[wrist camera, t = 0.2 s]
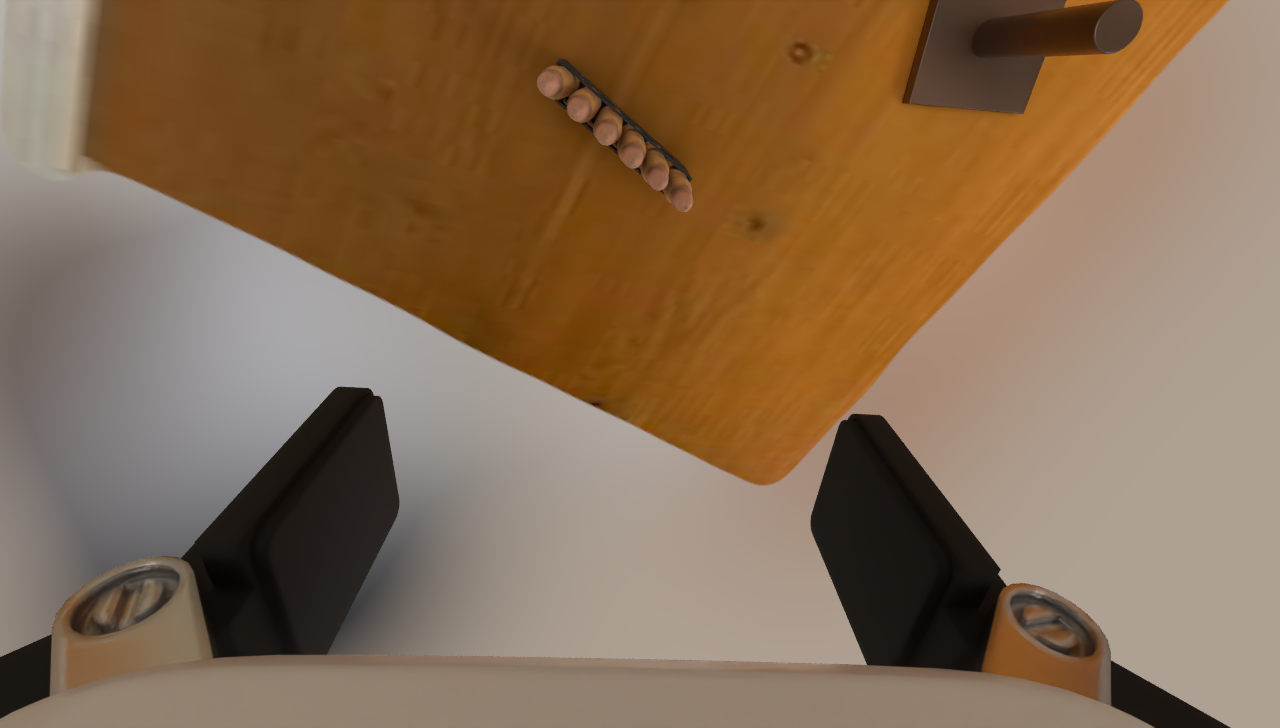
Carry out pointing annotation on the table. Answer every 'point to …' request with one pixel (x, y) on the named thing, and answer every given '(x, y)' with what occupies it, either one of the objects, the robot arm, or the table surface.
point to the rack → (1008, 47)
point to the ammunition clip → (617, 132)
